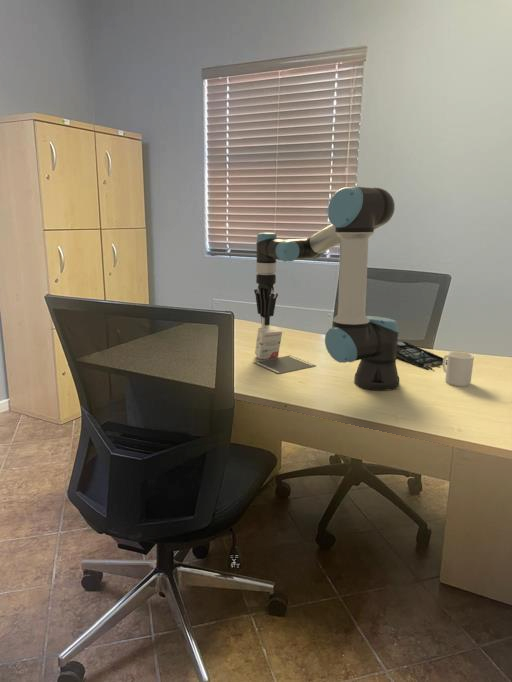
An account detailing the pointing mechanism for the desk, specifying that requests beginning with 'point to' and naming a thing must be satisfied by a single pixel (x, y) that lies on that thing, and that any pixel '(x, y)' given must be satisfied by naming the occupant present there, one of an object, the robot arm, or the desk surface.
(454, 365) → the cup
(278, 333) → the ink box
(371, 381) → the robot arm
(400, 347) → the building model
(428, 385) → the desk surface
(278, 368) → the mat
